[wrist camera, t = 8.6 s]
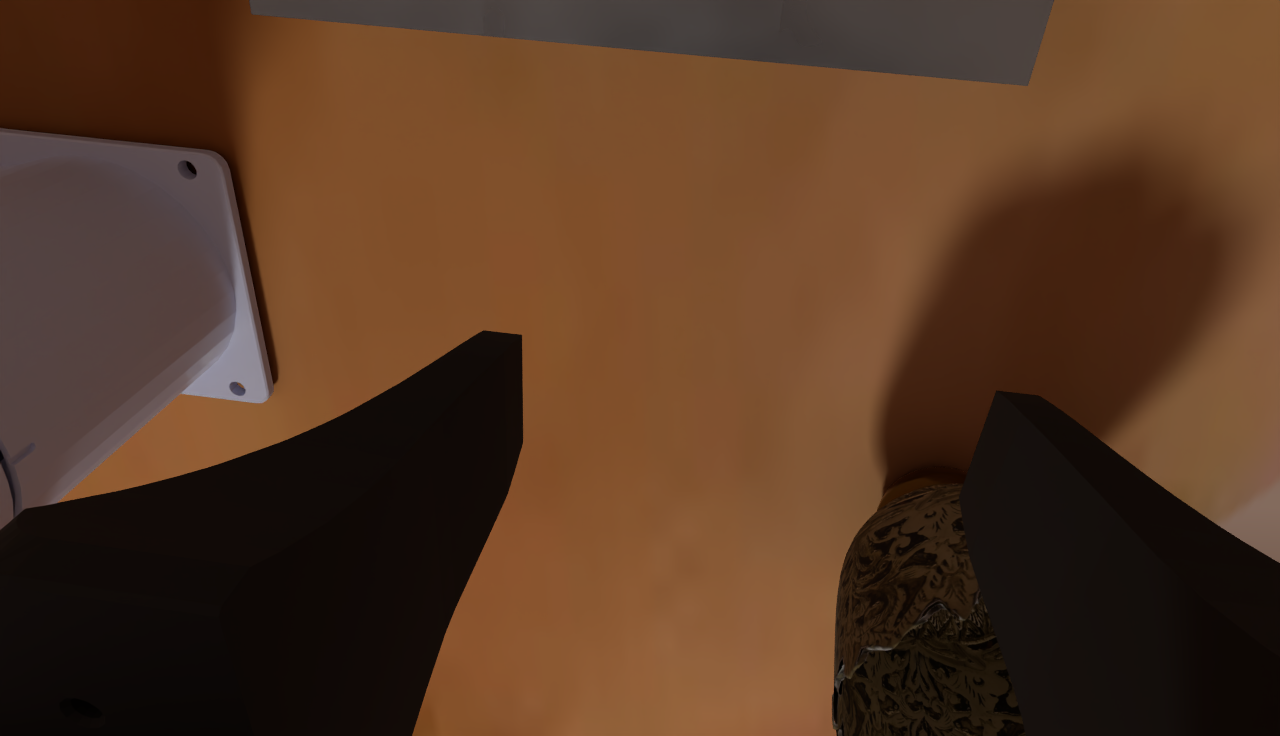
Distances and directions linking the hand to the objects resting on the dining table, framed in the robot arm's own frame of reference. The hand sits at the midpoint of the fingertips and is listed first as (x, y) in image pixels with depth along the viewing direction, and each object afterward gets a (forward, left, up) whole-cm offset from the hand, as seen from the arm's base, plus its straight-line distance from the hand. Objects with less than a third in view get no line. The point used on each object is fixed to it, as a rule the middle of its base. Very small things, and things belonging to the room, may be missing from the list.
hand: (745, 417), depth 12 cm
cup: (+7, -9, -10) cm, 15 cm away
